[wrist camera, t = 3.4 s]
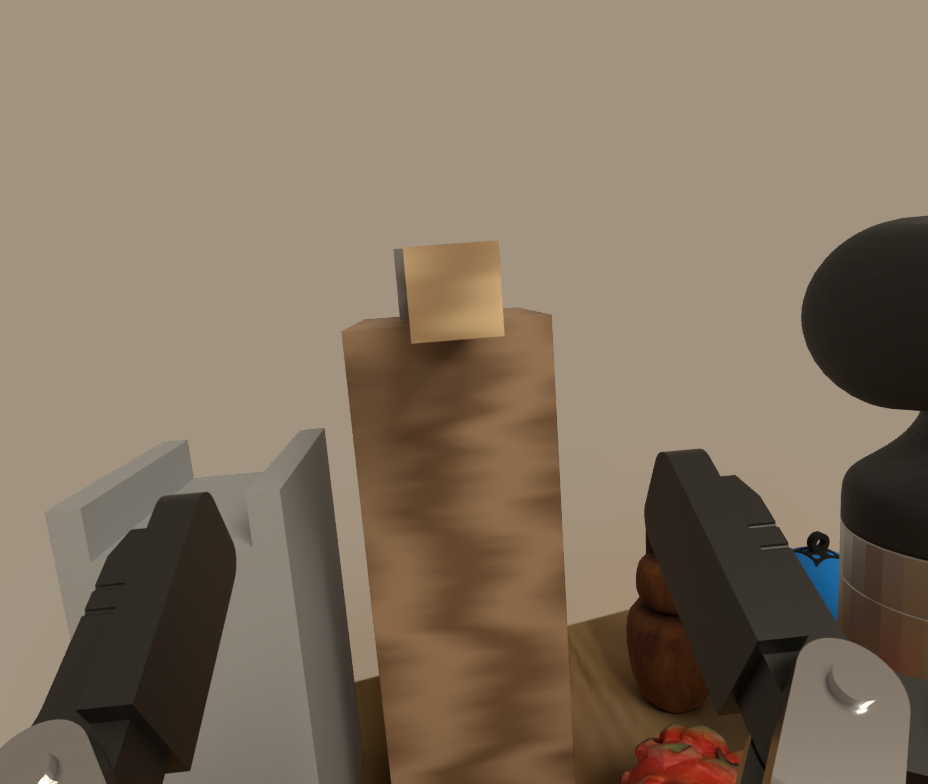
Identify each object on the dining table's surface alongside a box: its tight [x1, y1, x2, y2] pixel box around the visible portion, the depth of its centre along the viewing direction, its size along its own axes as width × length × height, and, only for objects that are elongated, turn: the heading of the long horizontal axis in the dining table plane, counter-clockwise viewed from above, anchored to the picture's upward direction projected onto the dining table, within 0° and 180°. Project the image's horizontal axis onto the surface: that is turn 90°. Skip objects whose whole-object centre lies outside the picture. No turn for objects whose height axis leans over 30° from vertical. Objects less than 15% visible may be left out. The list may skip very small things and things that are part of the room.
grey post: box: [45, 428, 363, 784], centre depth 34 cm, size 10×12×24 cm
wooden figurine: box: [626, 531, 709, 713], centre depth 45 cm, size 7×6×15 cm
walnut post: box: [342, 308, 575, 784], centre depth 37 cm, size 10×11×30 cm
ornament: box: [792, 531, 839, 622], centre depth 50 cm, size 9×9×10 cm
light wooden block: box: [394, 241, 505, 344], centre depth 29 cm, size 5×20×4 cm, turn 4°
